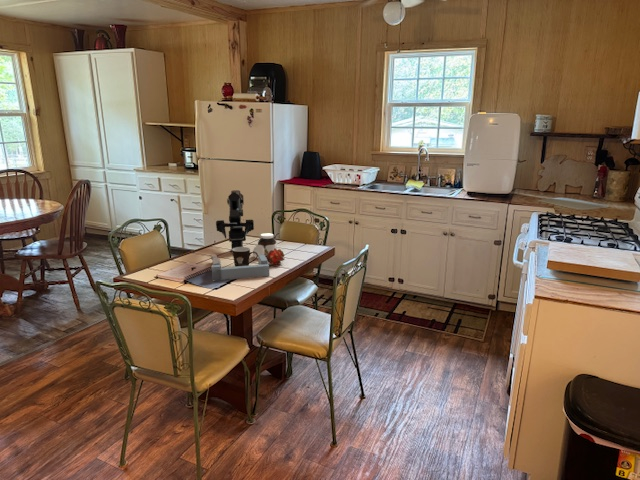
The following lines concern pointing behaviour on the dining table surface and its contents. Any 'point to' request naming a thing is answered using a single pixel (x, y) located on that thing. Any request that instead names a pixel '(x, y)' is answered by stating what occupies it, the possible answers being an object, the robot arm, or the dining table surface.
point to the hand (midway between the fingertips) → (235, 238)
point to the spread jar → (265, 245)
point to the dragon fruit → (275, 256)
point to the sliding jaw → (215, 260)
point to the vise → (241, 270)
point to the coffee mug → (242, 256)
